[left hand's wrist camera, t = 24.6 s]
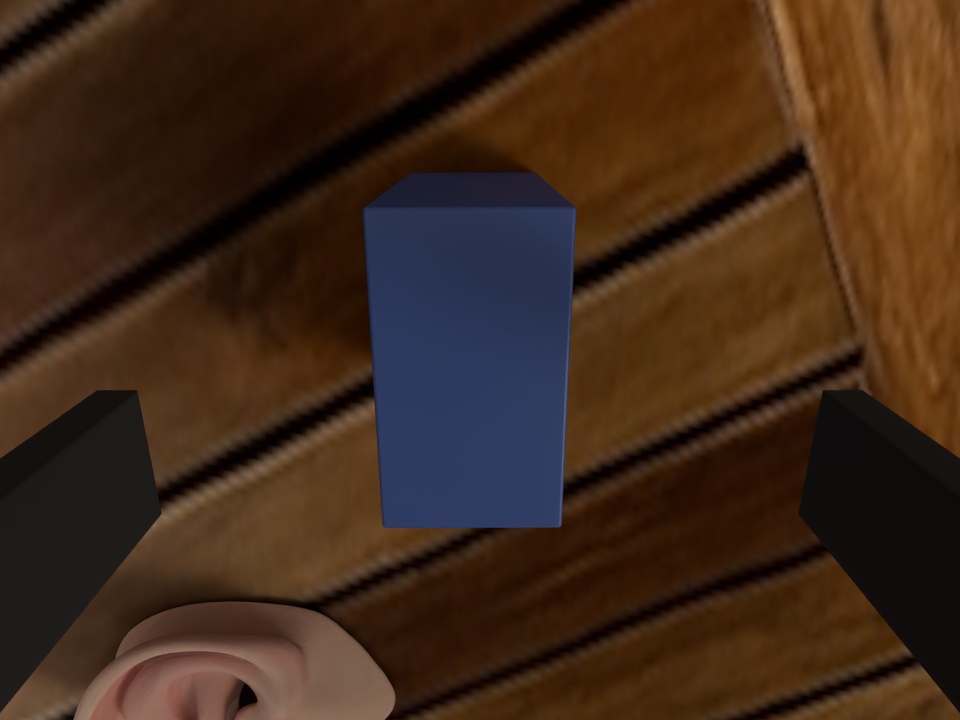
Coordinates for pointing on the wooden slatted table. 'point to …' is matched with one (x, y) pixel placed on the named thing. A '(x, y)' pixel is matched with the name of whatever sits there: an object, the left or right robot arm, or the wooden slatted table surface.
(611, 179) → the wooden slatted table surface
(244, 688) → the anatomical model
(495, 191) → the block
